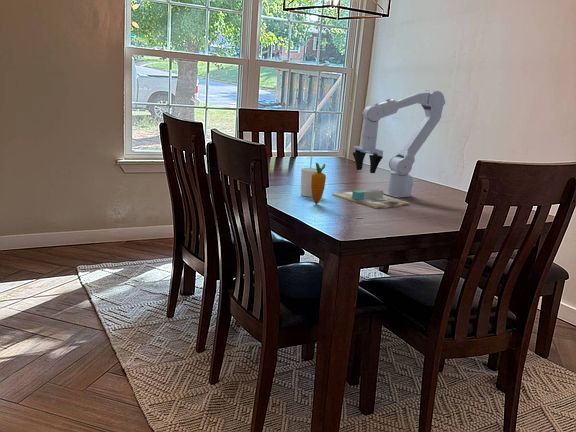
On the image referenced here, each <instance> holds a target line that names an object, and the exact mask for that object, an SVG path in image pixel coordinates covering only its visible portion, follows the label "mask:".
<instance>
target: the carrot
mask: <svg viewBox="0 0 576 432" xmlns="http://www.w3.org/2000/svg"><path fill="white" fill-rule="evenodd" d="M326 166H327V165H326V163H323V165H322V167H321V166H320V163H318V162H315V168H316V170H317V172H315V173H313V174H312V181H311V189H312V196H313V197H312V199H313V202H314V204H315V205H318V204H319V202H320V201H321V199H322V197H323V194H324V191H325V186H326V180H327V177H326V174H325V173H324V172H323V170H324V169H326ZM321 172H322V173H321Z"/></svg>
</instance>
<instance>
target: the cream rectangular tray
mask: <svg viewBox="0 0 576 432" xmlns="http://www.w3.org/2000/svg"><path fill="white" fill-rule="evenodd" d="M352 193H353V191H344V192H332V193H331V196H334V197H336V198H340V199H343V200H346V201H350V202H353V203H356V204H360V205H363V206H366V207H369V208H373V209H386V208H387V209H388V208H396V207H404V206H410V205H411V202H409V201H405V200H400V199H398V198H395V197H391V196H388V195H383V196H382V198H375V199H364V200H356V199H353V198H352Z"/></svg>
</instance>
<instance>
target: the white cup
mask: <svg viewBox="0 0 576 432" xmlns="http://www.w3.org/2000/svg"><path fill="white" fill-rule="evenodd" d="M315 172H317V170H316V167H315V168H313V167H302V168H300V195H301V196H303V197H310V198H311V197H312V198H313V196H312V189H311V181H312V174H313V173H315ZM321 173H323V171H322V172H321Z"/></svg>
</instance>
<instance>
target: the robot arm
mask: <svg viewBox="0 0 576 432" xmlns="http://www.w3.org/2000/svg"><path fill="white" fill-rule="evenodd" d="M416 104H419V105H420V106H421V107H422V108H423V110H424V114H425V117H424V118H423V120H422V121H421V123H420V125H419V126H418V127H417V129H416V130H415V131H414V132H413V134H412V135H411V137H410V139H409V140H408V142H407V143H406V144H405V146H404V147H403V148H402V149H400V150H399V151H398V152H397V153H396V154H395V155H394V156H392V157H391V158H390V159H389V161H388V168H389V169H390V172H389V179H388V188H387V189H388V190H387V191H386V192H384V193H383V195H384V196H388V197H392V198H395V199H398V198H408V197H410V198H411V197H413V194H412V190H413V184H414V183H413V182H414V181H413V177H412V175H411V174H409V173H410V172H411V171H412V169H413V165H414V163H415V162H416V161H415V160H416V159H415V156H416V155H417V153H418V151H419V150H420V149H421V147H422V146H423V144H424V143H425V142H426V141H427V139H428V137H429V136H431V133H432V132H433V131H434V129H435V128H436V126H437V125H438V124H439V122H440V121H441V118H442V113H443V108H444V106H445V104H446V100H445V95H444V93H443V92H441V91H440V90H433V91H432V90H423V91H419V92H415V93H413V94H410V95H408V96H405V97H402V98H400V99H397V100H395V99H393V98H391V99H390V98H386V99H385V101H382V102H375V103H374V105H368V106H366V107H365V108H364V109H363V111H362V112H361V115H362V118H363V125H362V136H361V144H360V145H354V146H353V152H352V155H353V157H354V160H355V161H354V162H355V166H356V171H362V170H363V166H364V165H363V164H364V160H365V157H366V154H369V156H368V157H369V173H370V174H375V173H376V171H377V168H378V166H379V164H380V162H381V161H382V159H383V158H384V150H381V149H378V148H377V139H378V131H379V130H378V129H379V121H380V120H381V119H383V118H386V117H389V116H391V115H395V114H397V112H398V111H399V109H402V108H405V107H409V106H413V105H416Z"/></svg>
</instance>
